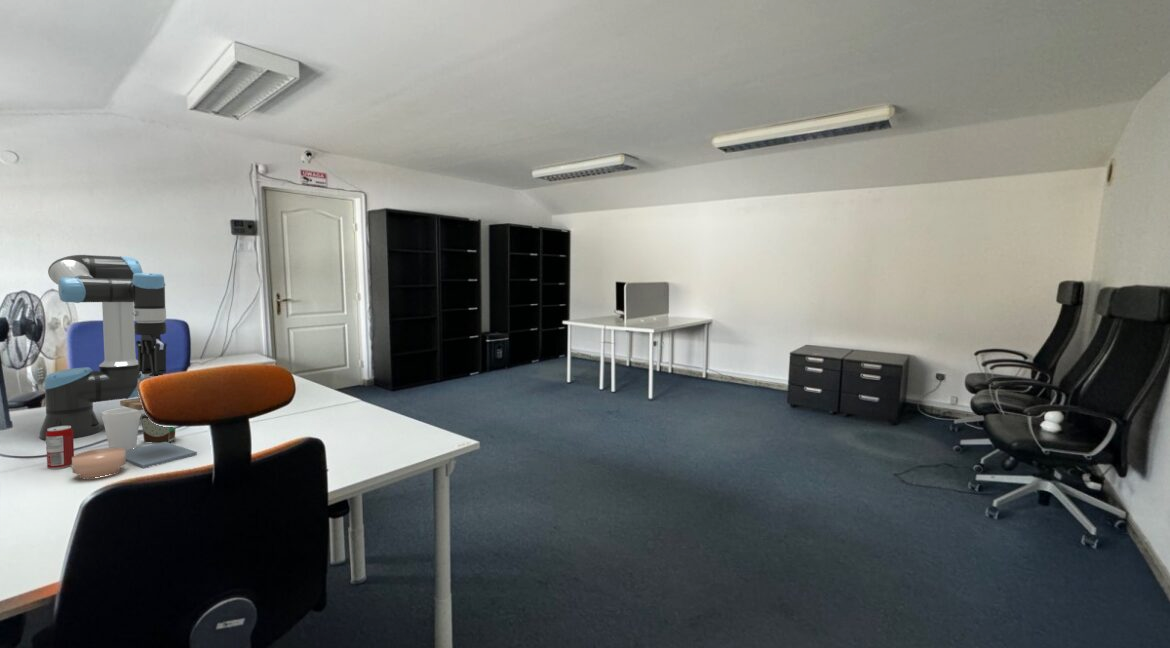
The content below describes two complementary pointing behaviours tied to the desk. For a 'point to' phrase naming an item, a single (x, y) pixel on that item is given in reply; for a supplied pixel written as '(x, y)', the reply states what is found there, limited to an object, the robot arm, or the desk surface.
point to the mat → (156, 454)
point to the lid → (133, 401)
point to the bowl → (98, 462)
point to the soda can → (59, 447)
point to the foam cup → (121, 427)
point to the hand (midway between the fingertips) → (153, 394)
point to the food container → (156, 431)
